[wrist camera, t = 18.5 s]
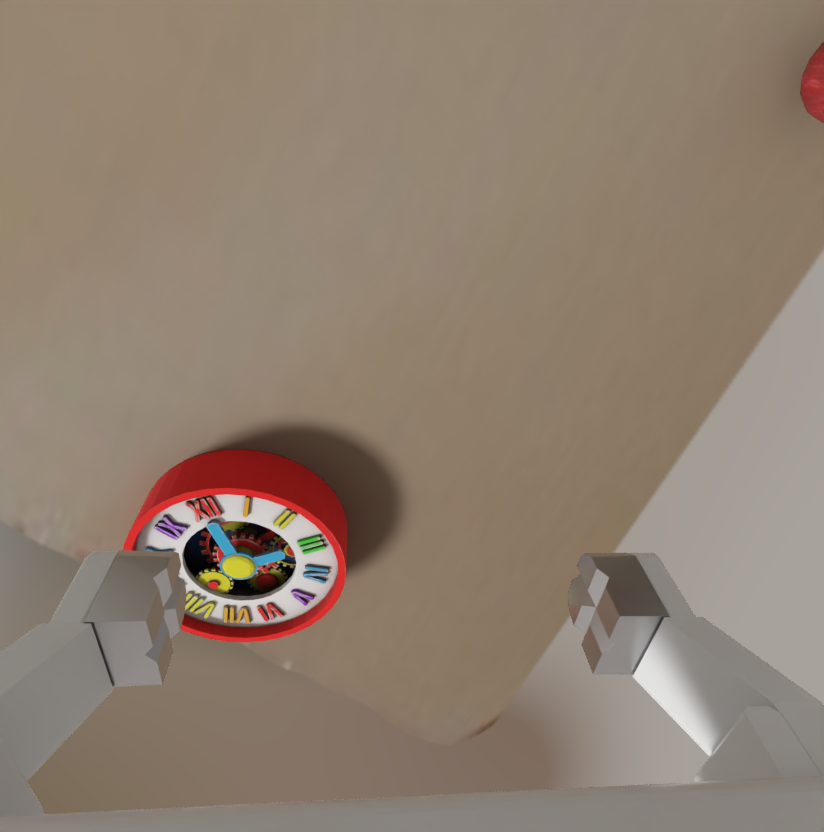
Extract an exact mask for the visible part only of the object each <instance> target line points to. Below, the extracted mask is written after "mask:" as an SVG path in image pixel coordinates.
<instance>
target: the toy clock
mask: <svg viewBox="0 0 824 832" xmlns="http://www.w3.org/2000/svg"><path fill="white" fill-rule="evenodd" d="M347 535H348V529H347V519H346V515H345V512H344V509H343V507H342V504H341V503H340V501H339V499H338V498H337V496H336V494H335V493H334V491H333V490H332V489H331V488H330V487H329V486H328V485H327V484H326V483H325V481H324V480H322V479H321V478H320V477H318V476H317V475H316V474H315V473H313V472H312V471H311V470H309V469H307V468H305V467H304V466H302V465H300V464H298V463H296V462H294V461H292V460H289V459H286V458H284V457H281V456H279V455H275V454H270V453H266V452H261V451H254V450H242V449H235V450H219V451H214V452H209V453H204V454H200V455H198V456H195V457H192V458H190V459H187V460H185V461H183V462H181V463H180V464H178V465H176V466H175V467H173V468H171V469H170V470H169V471H168V472H166V473H165V474H164V475H163V476H162V477H161V478H160V479H159V480H158V481H157V483H156V484H155V485H154V487H153V488H152V490H151V491H150V493H149V495H148V497H147V499H146V501H145V502H144V504H143V506H142V508H141V510H140V512H139V514H138V516H137V518H136V520H135V522H134V524H133V526H132V528H131V530H130V532H129V534H128V537H127V539H126V541H125V544H124V548H123V550H127V551H162V552H177V553H179V557H180V561H181V568H180V571H179V574H178V576H179V577H180V578H181V579H183V580H184V581H185V587H186V605H185V612H184V618H183V621H182V625H181V628H180V629H181V630H183V631H186V632H189V633H191V634H194V635H198V636H201V637H205V638H210V639H215V640H222V641H229V642H255V641H265V640H271V639H276V638H281V637H284V636H287V635H290V634H293V633H296V632H298V631H300V630H302V629H304V628H306V627H308V626H310V625H312V624H313V623H315V622H316V621H318V620H319V619H321V618H322V617H323V616H324V615H325V614H326V613H327V612H328V611H329V610H330V609H331V608H332V607H333V605H334V604H335V603H336V601H337V600H338V598H339V597H340V594H341V592H342V589H343V587H344V583H345V576H346V561H347Z"/></svg>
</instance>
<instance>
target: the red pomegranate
mask: <svg viewBox="0 0 824 832" xmlns="http://www.w3.org/2000/svg"><path fill="white" fill-rule="evenodd" d="M800 94H801V97H802V100H803V103H804V106H805V108H806V110H807V112H808V113H809V114H810V115H812V116H813V117H815V118H816V119H818V120H819V121H821V122H823V123H824V43H822V44H821V46H820V47H819V48H818V49H817V51H816V52H815V53H814V54H813V56H812V57H811V58H810V60H809V62H808V65H807V67H806V69H805V71H804V73H803V75H802V82H801V90H800Z"/></svg>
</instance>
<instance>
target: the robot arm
mask: <svg viewBox="0 0 824 832" xmlns="http://www.w3.org/2000/svg"><path fill="white" fill-rule="evenodd" d="M577 567H578V569H579V571H580V574H579V575H578V576H577V577H575V578H574V579H573V580H572V581H571V584H570V587H569V591H568V606H569V611H570V616H571V618H572V621H573V624H574V626H575V627H576V628H578V629H579V630H580V631H581V632H582V633H583V634H584V635H585V636H584V639H583V642H582V647H583V650H584V652H585V655H586V658H587V660H588V663H589V665H590V668H591V670H592V673H593V674H627V675H628V674H629V675H630V674H632V675H634V676H633V677H634V678H635V680H636V681H637V682H638V683H639V684H640V685H641V686H642V687H643V688H644V689H645V690H646V691H647V692H648V693H649V694H650V695H651V696H652V697H653V698H654V699H655V700H656V701H657V702H658V703H659V705H660V706H661V707H662V708H664V710H665V711H666V712H667V713H668V714H669V715H670V716H671V717H672V718H673V719H674V720H675V721H676V722H677V723H678V724H679V725H680V726H681V727H682V728H683V729H684V730H685V732H687V734H689V736H690V737H691V738H692V739H693V740H694V741H695V742H696V743H697V744H698V745H699V746H700V747H701V748H702V749H703V750H704V751H705V752H706V753H707V754H708V755H709V756H710V757H709V758H708V760H707V761H706V762H705V764H704V765H703V766H702V768H701V769H700V770H699V772H698V773H697V775H696V777H695V779H694V781H695V782H689V783H671V784H670V783H669V784H649V785H631V786H608V787H588V788H569V789H568V788H567V789H547V790H528V791H506V792H485V793H465V794H445V795H424V796H404V797H384V798H366V799H344V800H324V801H307V802H306V801H304V802H284V803H264V804H244V805H224V806H206V807H184V808H165V809H144V810H124V811H104V812H84V813H64V814H44V811H43V809H42V807H41V805H40V803H39V801H38V800H37V798H36V796H35V795H34V793H33V791H32V789H31V788H30V786H29V784H28V783H27V781H28V779H29V778H30V777H31V776H32V775H33V774H34V773H35V772H36V771H37V770H38V769H39V768H40V767H41V766H42V765H43V764H44V763H45V761H47V759H48V758H49V757H50V756H51V755H52V754H53V753H54V752H55V751H56V750H57V749H58V748H59V747H60V746H61V745H62V744H63V743H64V742H65V740H66V739H67V738H68V737H69V736H70V735H71V734H72V733H73V732H74V731H75V730H76V729H77V728H78V727H79V726H80V725H81V724H82V723H83V722H84V720H85V719H86V718H87V717H88V716H89V715H90V714H91V713H92V712H93V711H94V710H95V709H96V708H97V707H98V705H100V704H101V703H102V701H103V700H104V699H105V698H106V697H107V696H108V695H109V694H110V693H111V692H112V691H113V687H121V686H138V685H139V686H140V685H160V684H163V681H164V678H165V675H166V672H167V669H168V666H169V663H170V660H171V657H172V654H173V648H172V644H171V638H172V637H173V636H174V635H175V634H176V633H177V632H178V631H180V628H181V625H182V621H183V618H184V612H185V605H186V587H185V581H184V580H183V579H181V578H180V577H179V576H178V574H179V571H180V568H181V561H180V557H179V553H177V552H162V551H127V550H121V551H112V550H93V551H92V552H91V553H90V554H88V555H87V556H86V558H85V559H84V561H83V563H82V565H81V567H80V568H79V570H78V572H77V574H76V576H75V578H74V580H73V581H72V583H71V585H70V586H69V588H68V590H67V592H66V594H65V595H64V598H63V599H62V601H61V603H60V604H59V606H58V608H57V610H56V611H55V613H54V616H53V617H52V619H51V621H50V622H49V624H39V625H38V626H36V627H35V628H33V629H32V630H31V631H30V632H28V633H27V634H25V635H24V636H22V637H21V638H20V639H18V640H17V641H15V642H14V643H13V644H11V645H10V646H8V647H7V648H6V649H4V650H3V651H1V652H0V832H824V705H823V704H822V702H820V701H819V700H817V699H816V698H815V697H813V696H812V695H811V694H809V693H808V692H807V691H805V690H804V689H802V688H801V687H800V686H798V685H797V684H795V683H794V682H793V681H791V680H789V679H788V678H787V677H785V676H784V675H783V674H781V673H780V672H779V671H777V670H776V669H774V668H773V667H772V666H770V665H769V664H768V663H766V662H765V661H763V660H762V659H760V658H759V657H758V656H756V655H755V654H754V653H752V652H751V651H749V650H748V649H747V648H745V647H744V646H742V645H741V644H739V643H738V642H737V641H735V640H734V639H732V638H731V637H730V636H728V635H727V634H726V633H724V632H723V631H722V630H720V629H719V628H717V627H716V626H714V625H713V624H712V623H710V622H709V621H707V620H706V619H705V618H703V617H696V616H695V615H694V613H693V611H692V610H691V608H690V606H689V605H688V603H687V602H686V600H685V599H684V597H683V595H682V594H681V592H680V590H679V589H678V587H677V585H676V584H675V583H674V581H673V579H672V577H671V576H670V574H669V573H668V571H667V569H666V568H665V566H664V564H663V563H662V561H661V560H660V558H659V557H658V556H657V555H656V554H654V553H584V554H583V555H582V556H581V557H580V560H579V562H578V565H577ZM43 814H44V815H43Z"/></svg>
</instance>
